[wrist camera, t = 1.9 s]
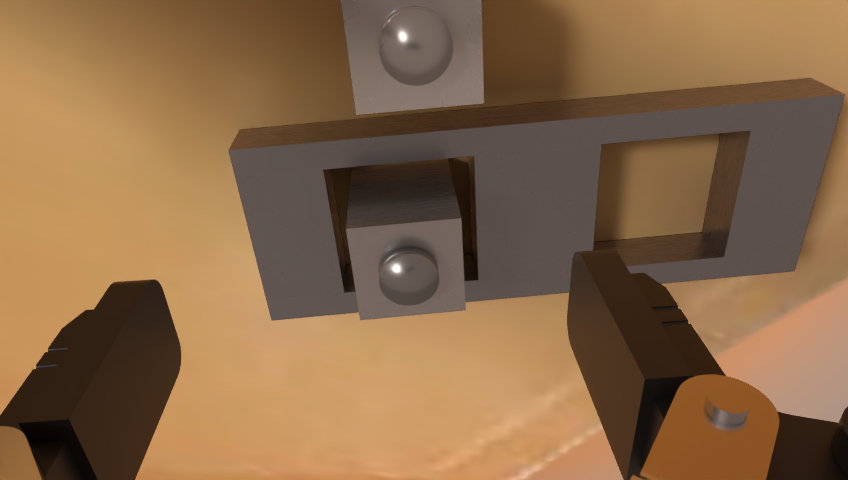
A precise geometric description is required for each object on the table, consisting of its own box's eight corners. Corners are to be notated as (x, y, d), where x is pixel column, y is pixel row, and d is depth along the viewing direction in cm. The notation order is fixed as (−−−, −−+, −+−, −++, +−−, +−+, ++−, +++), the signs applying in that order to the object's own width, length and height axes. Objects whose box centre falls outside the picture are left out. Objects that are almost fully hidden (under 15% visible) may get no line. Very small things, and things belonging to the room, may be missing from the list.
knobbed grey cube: (351, 165, 29) (344, 238, 23) (447, 156, 29) (463, 227, 23) (363, 246, 31) (359, 330, 26) (451, 238, 31) (467, 320, 26)
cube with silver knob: (346, -46, 24) (336, -20, 19) (460, -56, 24) (483, -33, 19) (361, 67, 27) (355, 121, 21) (464, 58, 27) (487, 109, 21)
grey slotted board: (239, 129, 28) (228, 150, 26) (811, 78, 28) (844, 94, 26) (278, 292, 32) (271, 320, 30) (768, 246, 33) (794, 271, 31)
